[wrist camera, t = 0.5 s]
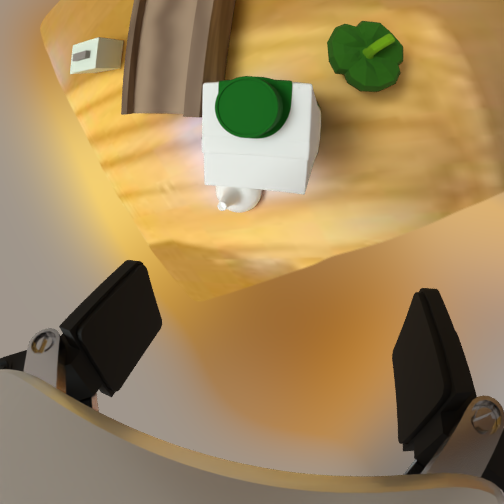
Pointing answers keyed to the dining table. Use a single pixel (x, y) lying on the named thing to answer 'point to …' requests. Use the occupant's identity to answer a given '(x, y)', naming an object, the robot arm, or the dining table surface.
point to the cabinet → (96, 56)
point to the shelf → (174, 54)
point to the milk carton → (260, 133)
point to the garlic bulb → (237, 198)
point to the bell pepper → (365, 55)
